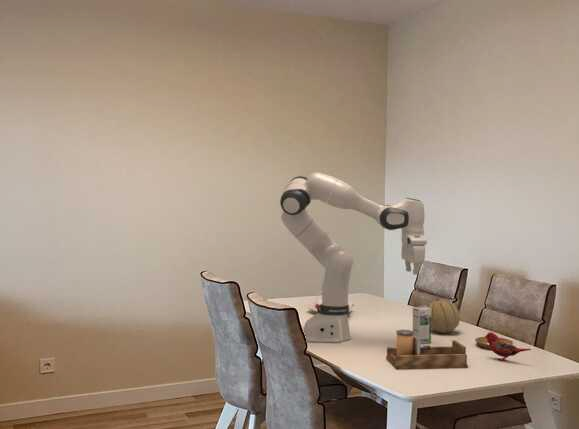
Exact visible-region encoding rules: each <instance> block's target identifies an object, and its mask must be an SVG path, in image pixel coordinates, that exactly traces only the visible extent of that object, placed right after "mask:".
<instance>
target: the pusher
mask: <svg viewBox="0 0 579 429" xmlns="http://www.w3.org/2000/svg"><path fill="white" fill-rule="evenodd" d="M431 347H432V346H431V345H421V343H420V338H419V337H417V336H416V335H415V334H414V338H413V355H420V350H430V349H431Z"/></svg>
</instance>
